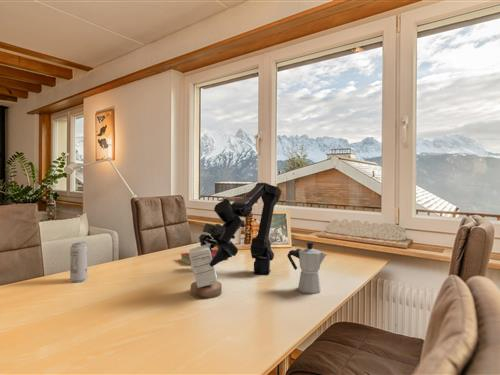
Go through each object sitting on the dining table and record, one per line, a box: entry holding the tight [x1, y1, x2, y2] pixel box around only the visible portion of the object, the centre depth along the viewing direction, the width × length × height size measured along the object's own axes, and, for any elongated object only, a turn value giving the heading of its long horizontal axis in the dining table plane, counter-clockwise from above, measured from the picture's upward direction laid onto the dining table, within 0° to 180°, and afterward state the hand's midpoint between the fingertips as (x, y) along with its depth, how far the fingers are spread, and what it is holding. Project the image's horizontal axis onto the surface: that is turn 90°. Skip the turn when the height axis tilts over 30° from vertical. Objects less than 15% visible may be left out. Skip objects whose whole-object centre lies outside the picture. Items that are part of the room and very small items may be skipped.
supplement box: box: [188, 244, 218, 288], centre depth 112 cm, size 7×7×13 cm
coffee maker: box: [286, 241, 328, 295], centre depth 117 cm, size 15×9×18 cm, turn 71°
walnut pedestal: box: [190, 280, 223, 300], centre depth 113 cm, size 11×11×3 cm
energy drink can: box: [69, 241, 88, 283], centre depth 125 cm, size 6×6×15 cm
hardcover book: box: [180, 248, 229, 267], centre depth 159 cm, size 12×21×4 cm, turn 125°
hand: (203, 263), depth 112 cm, fingers closed on supplement box, 9 cm apart
